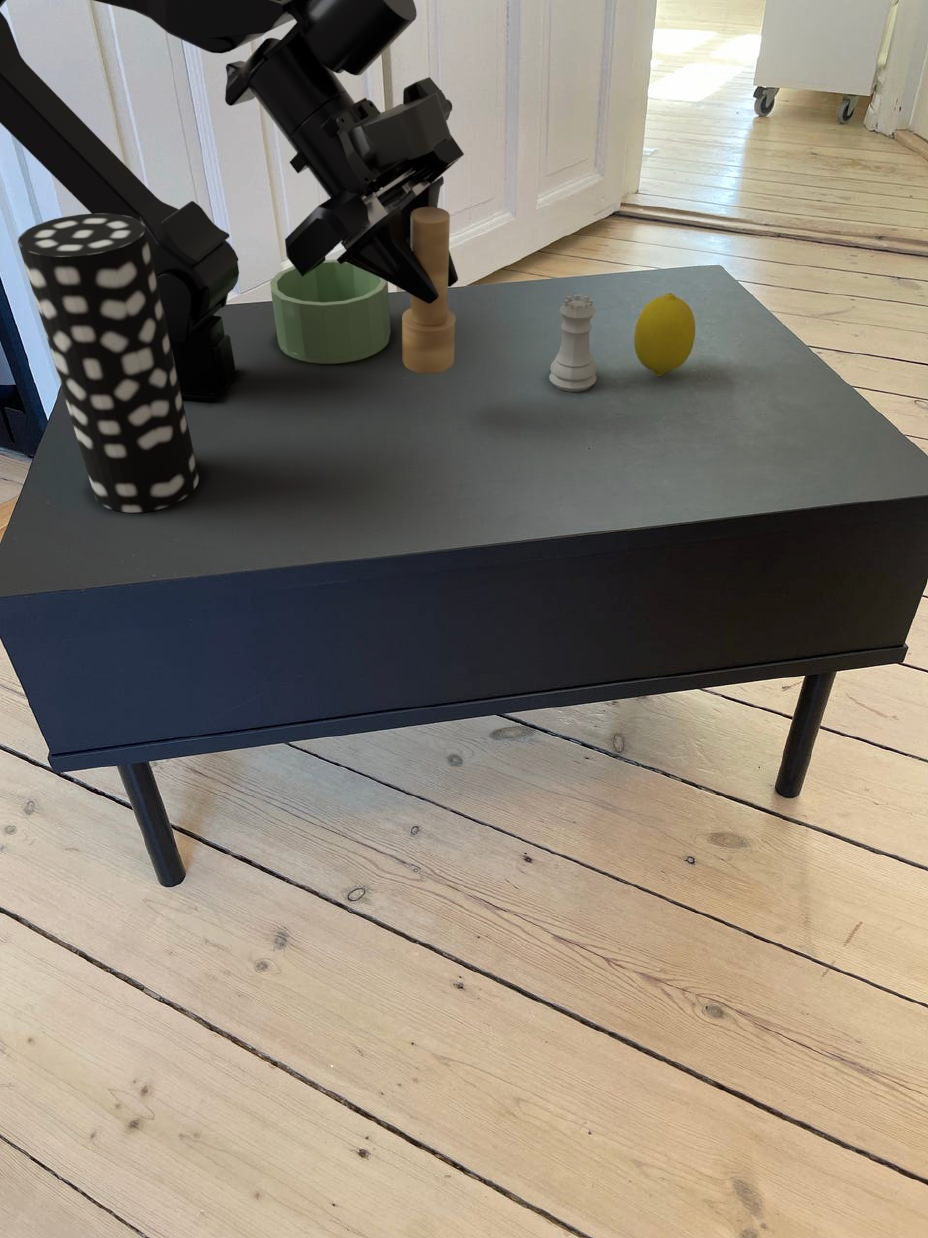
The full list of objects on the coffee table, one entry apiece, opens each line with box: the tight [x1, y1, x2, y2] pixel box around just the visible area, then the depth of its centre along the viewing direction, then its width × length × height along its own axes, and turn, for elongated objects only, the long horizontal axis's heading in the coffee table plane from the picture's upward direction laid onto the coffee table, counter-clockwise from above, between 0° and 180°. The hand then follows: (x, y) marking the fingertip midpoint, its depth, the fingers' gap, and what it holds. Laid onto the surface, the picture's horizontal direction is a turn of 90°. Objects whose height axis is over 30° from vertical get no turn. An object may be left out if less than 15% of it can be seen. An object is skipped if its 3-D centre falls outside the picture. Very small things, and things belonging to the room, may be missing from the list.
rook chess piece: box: [548, 294, 597, 393], centre depth 89 cm, size 4×4×8 cm
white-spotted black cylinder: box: [17, 213, 200, 513], centre depth 72 cm, size 8×8×20 cm
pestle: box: [401, 206, 457, 375], centre depth 78 cm, size 4×4×12 cm
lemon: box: [633, 292, 696, 377], centre depth 90 cm, size 6×6×8 cm
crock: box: [269, 259, 392, 365], centre depth 97 cm, size 11×11×6 cm
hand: (444, 292), depth 78 cm, fingers closed on pestle, 3 cm apart
